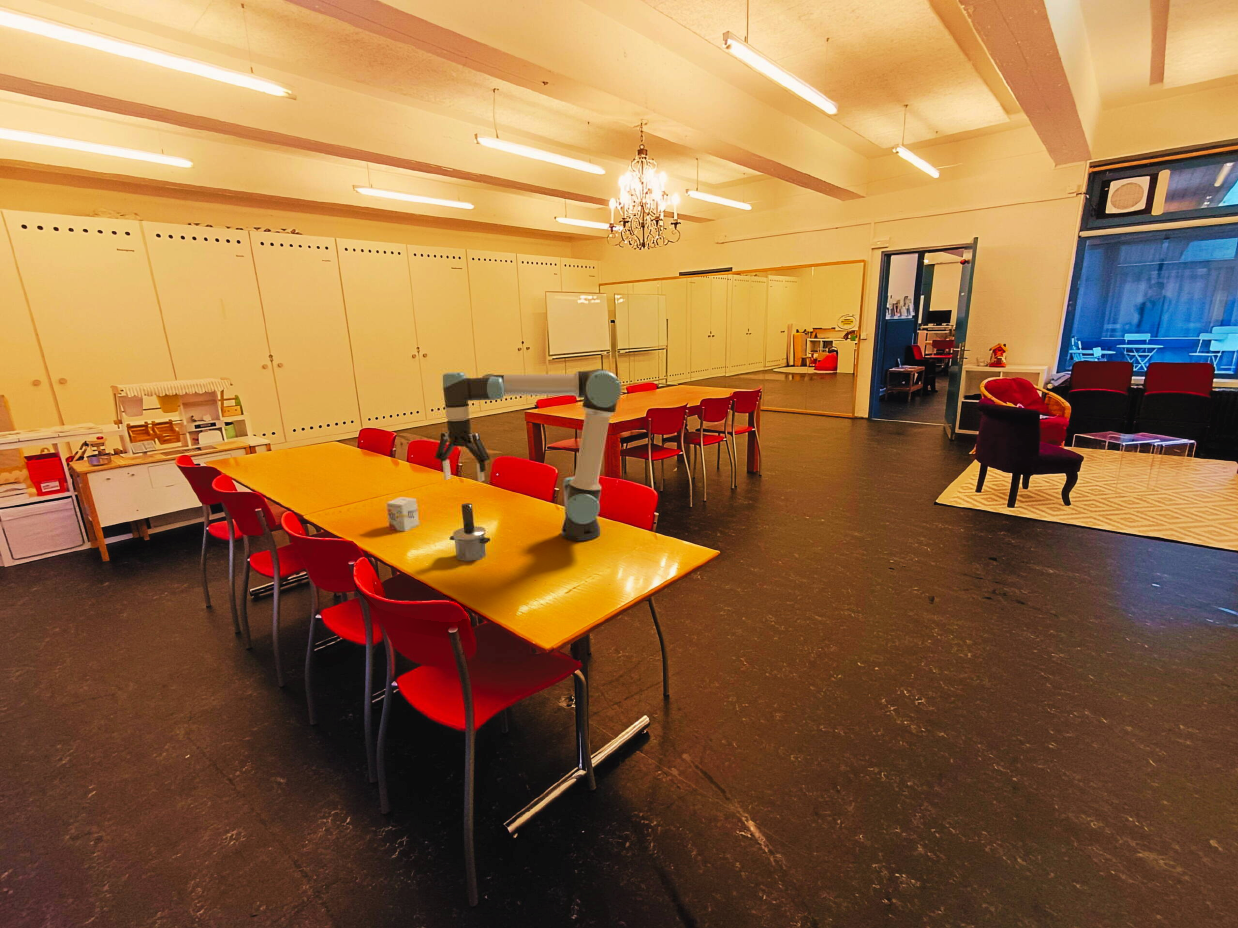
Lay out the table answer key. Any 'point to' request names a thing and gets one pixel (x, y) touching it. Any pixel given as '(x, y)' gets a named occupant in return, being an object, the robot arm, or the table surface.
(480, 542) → the pot
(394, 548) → the table surface
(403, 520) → the ink box
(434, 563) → the table surface
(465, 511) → the lid
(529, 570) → the table surface
